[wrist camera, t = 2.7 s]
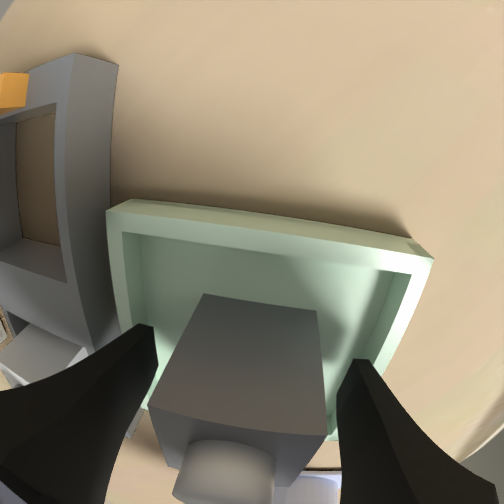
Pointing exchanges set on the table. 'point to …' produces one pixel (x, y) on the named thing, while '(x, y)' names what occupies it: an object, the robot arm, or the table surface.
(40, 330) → the twin plug
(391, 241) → the tray
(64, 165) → the power strip
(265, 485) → the plug
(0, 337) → the supplement box
